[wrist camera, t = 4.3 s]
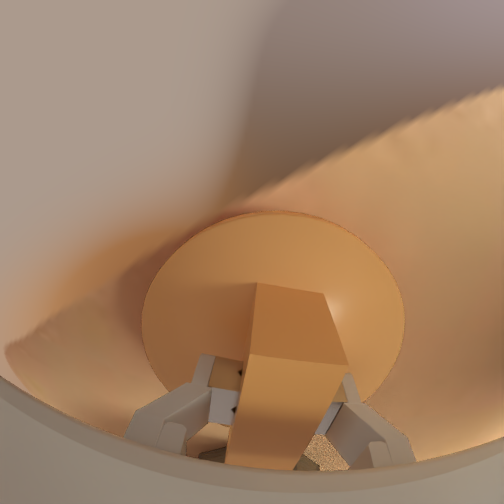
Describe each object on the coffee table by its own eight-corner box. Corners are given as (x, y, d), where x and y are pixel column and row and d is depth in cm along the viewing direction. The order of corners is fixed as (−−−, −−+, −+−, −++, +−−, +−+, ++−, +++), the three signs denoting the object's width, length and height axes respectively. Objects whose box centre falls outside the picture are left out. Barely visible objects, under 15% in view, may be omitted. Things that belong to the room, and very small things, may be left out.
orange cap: (409, 229, 12) (505, 292, 5) (341, 401, 16) (362, 495, 9) (172, 184, 12) (76, 215, 5) (163, 374, 16) (122, 467, 9)
